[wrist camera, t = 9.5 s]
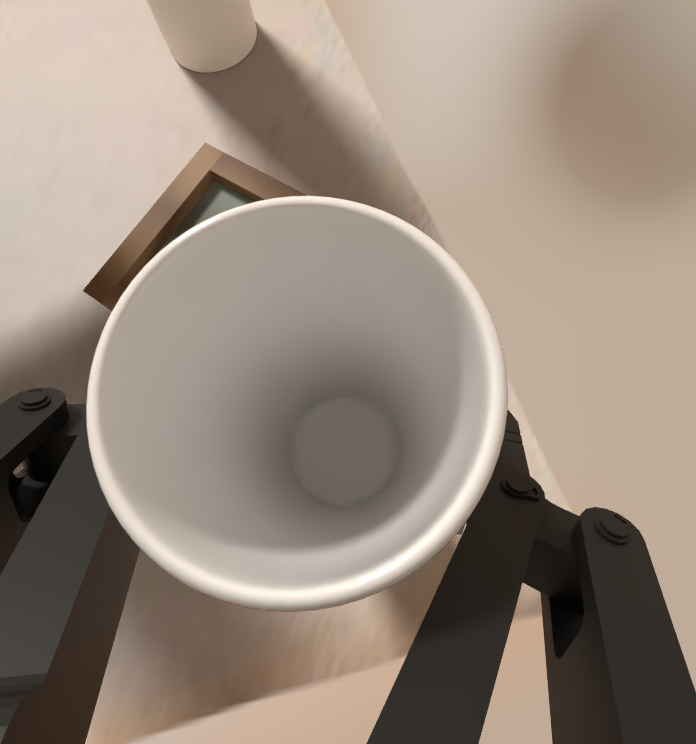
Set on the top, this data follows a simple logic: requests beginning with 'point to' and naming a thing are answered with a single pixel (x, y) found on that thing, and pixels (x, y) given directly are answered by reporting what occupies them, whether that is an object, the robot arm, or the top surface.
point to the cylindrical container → (206, 31)
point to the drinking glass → (297, 403)
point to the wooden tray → (184, 214)
